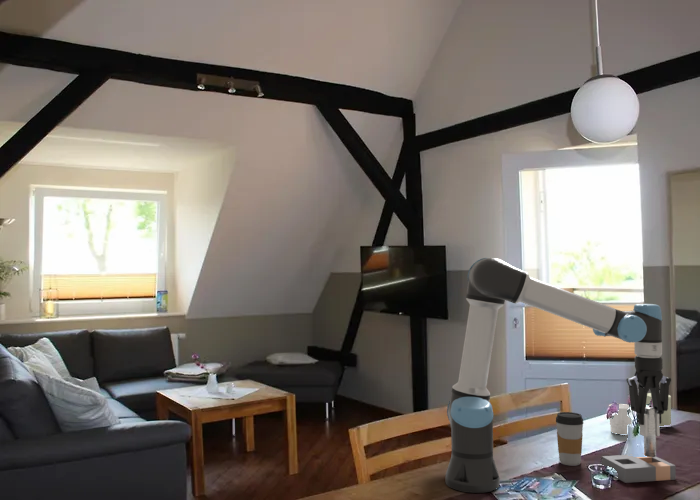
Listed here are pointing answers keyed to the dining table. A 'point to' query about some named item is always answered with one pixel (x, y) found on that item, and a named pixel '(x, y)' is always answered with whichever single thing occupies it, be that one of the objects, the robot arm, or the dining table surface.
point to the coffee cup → (569, 437)
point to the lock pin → (650, 434)
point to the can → (667, 414)
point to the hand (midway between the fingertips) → (649, 435)
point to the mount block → (640, 468)
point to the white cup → (620, 420)
